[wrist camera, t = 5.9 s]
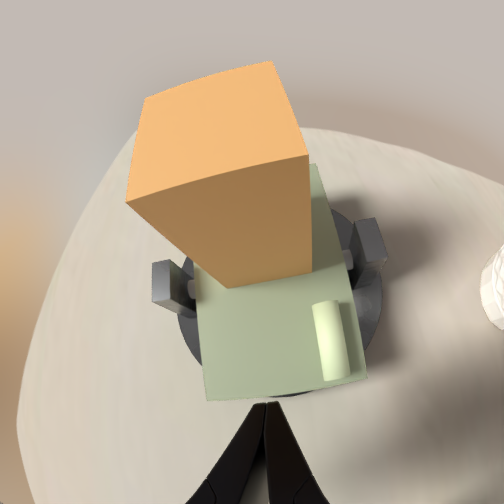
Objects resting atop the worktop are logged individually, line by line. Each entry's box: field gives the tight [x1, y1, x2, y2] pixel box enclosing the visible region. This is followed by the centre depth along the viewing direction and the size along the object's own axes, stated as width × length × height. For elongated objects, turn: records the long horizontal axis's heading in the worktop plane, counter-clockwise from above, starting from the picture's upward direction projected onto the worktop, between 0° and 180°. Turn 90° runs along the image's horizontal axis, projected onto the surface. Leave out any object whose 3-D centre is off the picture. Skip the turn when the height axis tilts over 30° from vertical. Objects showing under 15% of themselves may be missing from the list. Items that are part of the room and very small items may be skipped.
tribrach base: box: [152, 208, 388, 398], centre depth 17 cm, size 15×15×6 cm
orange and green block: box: [125, 61, 368, 401], centre depth 12 cm, size 14×10×11 cm
